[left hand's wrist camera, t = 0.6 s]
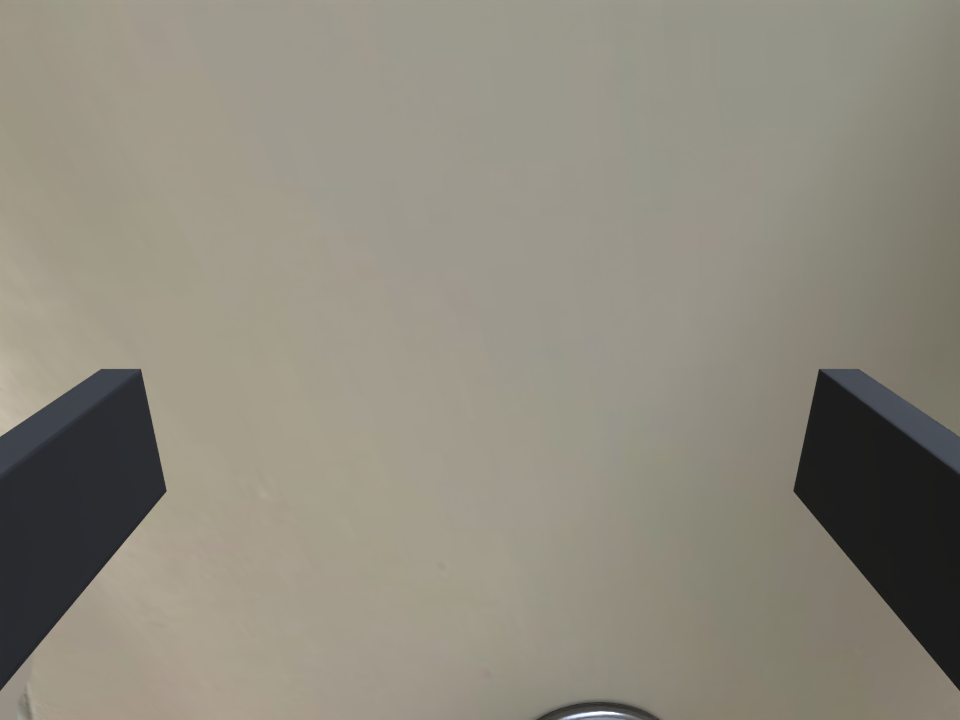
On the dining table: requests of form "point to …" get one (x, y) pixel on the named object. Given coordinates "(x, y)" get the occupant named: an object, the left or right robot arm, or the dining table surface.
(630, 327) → the dining table surface
